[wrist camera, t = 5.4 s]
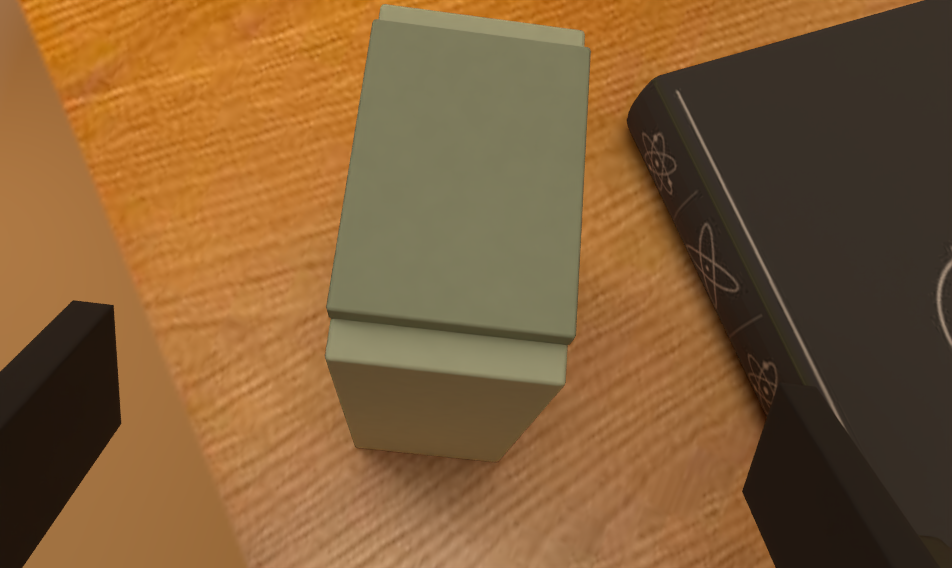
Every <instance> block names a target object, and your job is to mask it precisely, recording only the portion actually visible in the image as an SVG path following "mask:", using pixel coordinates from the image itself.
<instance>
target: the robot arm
mask: <svg viewBox="0 0 952 568" xmlns="http://www.w3.org/2000/svg"><path fill="white" fill-rule="evenodd" d="M119 399H120V398H119V383H118V368H117V352H116V336H115V321H114V306H113V305H107V304H99V303H91V302H82V301H72V302H71V303H70V304H69V305H68V306H67V307H66V308H65V309H64V310H63V311H62V312H61V313H60V314H59V315H58V316H57V317H56V318H55V319H54V320H53V321H52V322H51V323H49V324H48V326H46V327H45V328H44V329H43V330H42V331H41V332H40V333H39V334H38V335H37V336H36V337H35V338H34V339H33V340H32V341H31V342H30V343H29V344H28V345H27V346H26V347H25V348H24V349H23V350H22V351H21V352H20V353H19V354H18V355H17V356H16V357H15V358H14V359H13V360H12V361H11V362H10V363H9V364H8V365H7V366H6V367H5V368H4V369H3V370H2V371H1V372H0V568H22V567H23V566H24V564H25V563H26V561H27V560H28V559H29V557H30V556H31V554H32V553H33V551H34V550H35V548H36V547H37V545H38V544H39V543H40V541H41V540H42V538H43V537H44V535H45V534H46V532H47V531H48V529H49V528H50V526H51V525H52V524H53V522H54V521H55V519H56V518H57V516H58V515H59V513H60V512H61V511H62V509H63V508H64V506H65V505H66V503H67V502H68V500H69V499H70V497H71V496H72V494H73V493H74V492H75V490H76V488H77V487H78V486H79V484H80V483H81V481H82V480H83V478H84V477H85V475H86V474H87V473H88V471H89V470H90V468H91V467H92V465H93V464H94V463H95V461H96V460H97V458H98V457H99V455H100V454H101V452H102V451H103V449H104V448H105V447H106V445H107V444H108V442H109V441H110V439H111V438H112V436H113V435H114V433H115V432H116V431H117V429H118V427H119V426H120V425H121V414H120V400H119ZM742 492H743V494H744V497H745V499H746V501H747V503H748V506H749V508H750V510H751V513H752V515H753V517H754V519H755V522H756V524H757V526H758V528H759V531H760V533H761V535H762V538H763V540H764V542H765V544H766V547H767V549H768V551H769V553H770V556H771V558H772V560H773V562H774V565H775V567H776V568H952V549H951V548H950V547H949V546H948V545H946V544H945V543H944V542H943V541H942V540H940V539H939V538H938V537H931V536H922V535H918V534H917V533H916V532H915V530H914V529H913V527H912V526H911V524H910V523H909V521H908V520H907V518H906V517H905V516H904V514H903V513H902V511H901V510H900V508H899V507H898V505H897V504H896V502H895V501H894V500H893V498H892V497H891V495H890V494H889V492H888V491H887V489H886V488H885V486H884V485H883V484H882V482H881V481H880V479H879V478H878V476H877V475H876V473H875V472H874V470H873V469H872V468H871V466H870V465H869V463H868V462H867V460H866V459H865V457H864V456H863V454H862V453H861V451H860V450H859V449H858V447H857V446H856V444H855V443H854V441H853V440H852V438H851V437H850V435H849V434H848V433H847V431H846V430H845V428H844V427H843V425H842V424H841V422H840V421H839V419H838V418H837V417H836V415H835V414H834V412H833V411H832V409H831V408H830V406H829V405H828V403H827V402H826V401H825V399H824V398H823V396H822V395H821V393H820V392H819V390H818V389H817V387H815V386H806V385H798V384H789V383H780V382H779V383H778V386H777V389H776V392H775V395H774V398H773V401H772V404H771V407H770V410H769V413H768V416H767V419H766V422H765V425H764V428H763V431H762V434H761V437H760V440H759V443H758V446H757V449H756V452H755V455H754V458H753V461H752V464H751V467H750V470H749V473H748V476H747V479H746V482H745V485H744V488H743V491H742Z"/></svg>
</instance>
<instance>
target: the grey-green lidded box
mask: <svg viewBox="0 0 952 568" xmlns="http://www.w3.org/2000/svg"><path fill="white" fill-rule="evenodd" d="M584 40H585V34H584V32H583V31H581V30H574V29H566V28H559V27H551V26H544V25H536V24H529V23H521V22H514V21H506V20H499V19H491V18H484V17H476V16H469V15H461V14H454V13H446V12H439V11H431V10H424V9H417V8H409V7H402V6H394V5H387V4H384V5H382V6H381V8H380V14H379V20H377V19H376V20H374V21H373V23H372V29H371V35H370V41H369V47H368V54H367V60H366V66H365V72H364V78H363V84H362V91H361V97H360V103H359V109H358V115H357V121H356V127H355V134H354V140H353V146H352V152H351V158H350V164H349V171H348V177H347V183H346V189H345V195H344V201H343V208H342V214H341V220H340V226H339V232H338V238H337V244H336V251H335V257H334V263H333V269H332V275H331V281H330V288H329V294H328V300H327V306H326V308H327V311H328V315H329V317H330V318H331V321H330V327H329V333H328V340H327V346H326V352H325V359H326V362H327V365H328V368H329V371H330V374H331V377H332V380H333V382H334V385H335V388H336V391H337V394H338V397H339V400H340V403H341V406H342V409H343V412H344V415H345V418H346V421H347V424H348V427H349V430H350V433H351V436H352V439H353V442H354V445H355V447H357V448H365V449H375V450H384V451H394V452H403V453H413V454H422V455H431V456H441V457H450V458H460V459H469V460H479V461H488V462H498V461H499V460H500V459H501V458H502V457H503V456H504V454H505V453H506V452H507V451H508V450H509V449H510V448H511V446H512V445H513V444H514V443H515V442H516V441H517V440H518V438H519V437H520V436H521V435H522V434H523V433H524V431H525V430H526V429H527V428H528V427H529V426H530V425H531V423H532V422H533V421H534V420H535V419H536V418H537V416H538V415H539V414H540V413H541V412H542V411H543V410H544V408H545V407H546V406H547V405H548V404H549V403H550V401H551V400H552V399H553V398H554V397H555V396H556V395H557V393H558V392H559V391H560V390H561V389H562V388H563V386H564V385H565V383H566V365H567V347H568V345H570V344H571V342H572V341H573V339H574V338H575V336H576V322H577V303H578V284H579V265H580V246H581V226H582V207H583V188H584V169H585V150H586V130H587V111H588V92H589V73H590V54H591V51H590V48H588V47H584Z"/></svg>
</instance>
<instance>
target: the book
mask: <svg viewBox="0 0 952 568" xmlns="http://www.w3.org/2000/svg"><path fill="white" fill-rule="evenodd" d="M627 124H628V128H629V130H630V132H631V134H632V136H633V138H634V140H635V142H636V145H637V147H638V149H639V151H640V153H641V155H642V157H643V159H644V161H645V163H646V165H647V168H648V170H649V172H650V174H651V176H652V178H653V180H654V182H655V184H656V186H657V188H658V191H659V193H660V195H661V197H662V199H663V201H664V203H665V205H666V207H667V209H668V211H669V214H670V216H671V218H672V220H673V222H674V224H675V226H676V228H677V230H678V232H679V234H680V237H681V239H682V241H683V243H684V245H685V247H686V249H687V251H688V253H689V255H690V257H691V260H692V262H693V264H694V266H695V268H696V270H697V272H698V274H699V276H700V278H701V280H702V283H703V285H704V287H705V289H706V291H707V293H708V295H709V297H710V299H711V301H712V303H713V306H714V308H715V310H716V312H717V314H718V316H719V318H720V320H721V322H722V324H723V326H724V329H725V331H726V333H727V335H728V337H729V339H730V341H731V343H732V345H733V347H734V349H735V352H736V354H737V356H738V358H739V360H740V362H741V364H742V366H743V368H744V370H745V372H746V375H747V377H748V379H749V381H750V383H751V385H752V387H753V389H754V391H755V393H756V395H757V398H758V400H759V402H760V404H761V406H762V408H763V410H764V412H765V414H766V416H768V413H769V410H770V407H771V404H772V401H773V398H774V395H775V392H776V389H777V386H778V383H779V382H780V383H789V384H798V385H806V386H815V387H817V389H818V390H819V392H820V393H821V395H822V396H823V398H824V399H825V401H826V402H827V403H828V405H829V406H830V408H831V409H832V411H833V412H834V414H835V415H836V417H837V418H838V419H839V421H840V422H841V424H842V425H843V427H844V428H845V430H846V431H847V433H848V434H849V435H850V437H851V438H852V440H853V441H854V443H855V444H856V446H857V447H858V449H859V450H860V451H861V453H862V454H863V456H864V457H865V459H866V460H867V462H868V463H869V465H870V466H871V468H872V469H873V470H874V472H875V473H876V475H877V476H878V478H879V479H880V481H881V482H882V484H883V485H884V486H885V488H886V489H887V491H888V492H889V494H890V495H891V497H892V498H893V500H894V501H895V502H896V504H897V505H898V507H899V508H900V510H901V511H902V513H903V514H904V516H905V517H906V518H907V520H908V521H909V523H910V524H911V526H912V527H913V529H914V530H915V532H916V533H917V534H918V535H922V536H931V537H938V538H939V539H940V540H942V541H943V542H944V543H945V544H946V545H948V546H949V547H950V548H951V549H952V0H924V1H920V2H917V3H913V4H910V5H906V6H903V7H899V8H896V9H892V10H889V11H885V12H882V13H878V14H874V15H871V16H867V17H864V18H860V19H857V20H853V21H850V22H846V23H843V24H839V25H836V26H832V27H829V28H825V29H822V30H818V31H815V32H811V33H808V34H804V35H801V36H797V37H793V38H790V39H786V40H783V41H779V42H776V43H772V44H769V45H765V46H762V47H758V48H755V49H751V50H748V51H744V52H741V53H737V54H734V55H730V56H727V57H723V58H719V59H716V60H712V61H709V62H705V63H702V64H698V65H695V66H691V67H688V68H684V69H681V70H677V71H674V72H670V73H667V74H663V75H660V76H657V77H656V78H654V79H653V80H651V81H650V82H649V83H648V85H647V86H646V87H645V88H644V89H643V90H642V92H641V93H640V94H639V96H638V97H637V99H636V100H635V101H634V103H633V105H632V106H631V108H630V111H629V114H628V118H627Z"/></svg>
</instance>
